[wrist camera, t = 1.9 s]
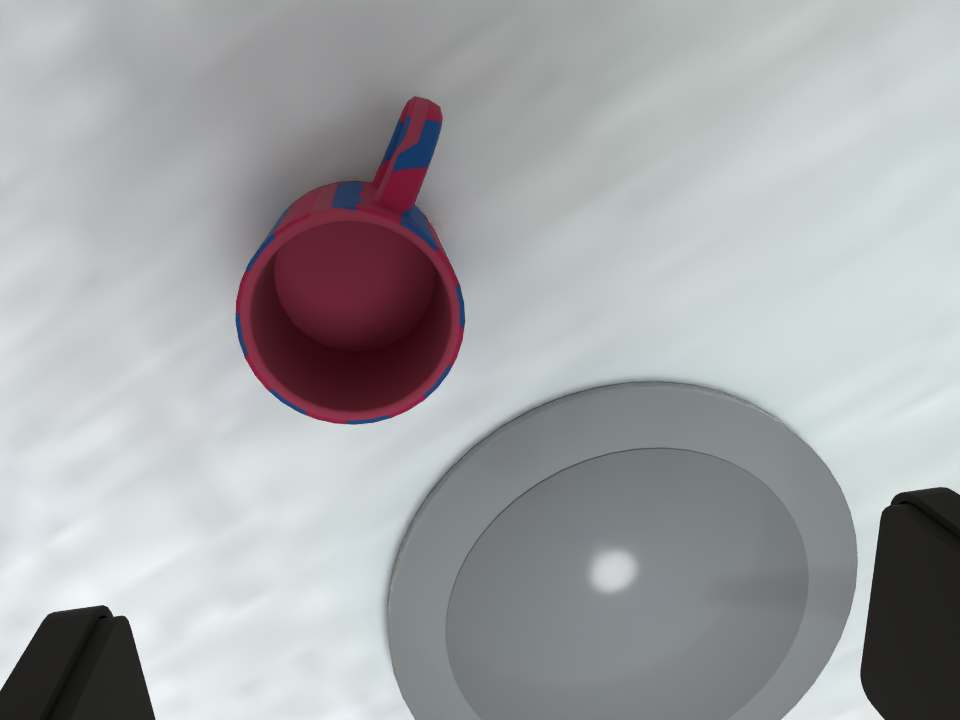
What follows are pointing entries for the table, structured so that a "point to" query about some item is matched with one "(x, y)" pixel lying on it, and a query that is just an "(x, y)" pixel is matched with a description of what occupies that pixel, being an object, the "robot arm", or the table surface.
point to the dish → (624, 566)
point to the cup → (356, 292)
